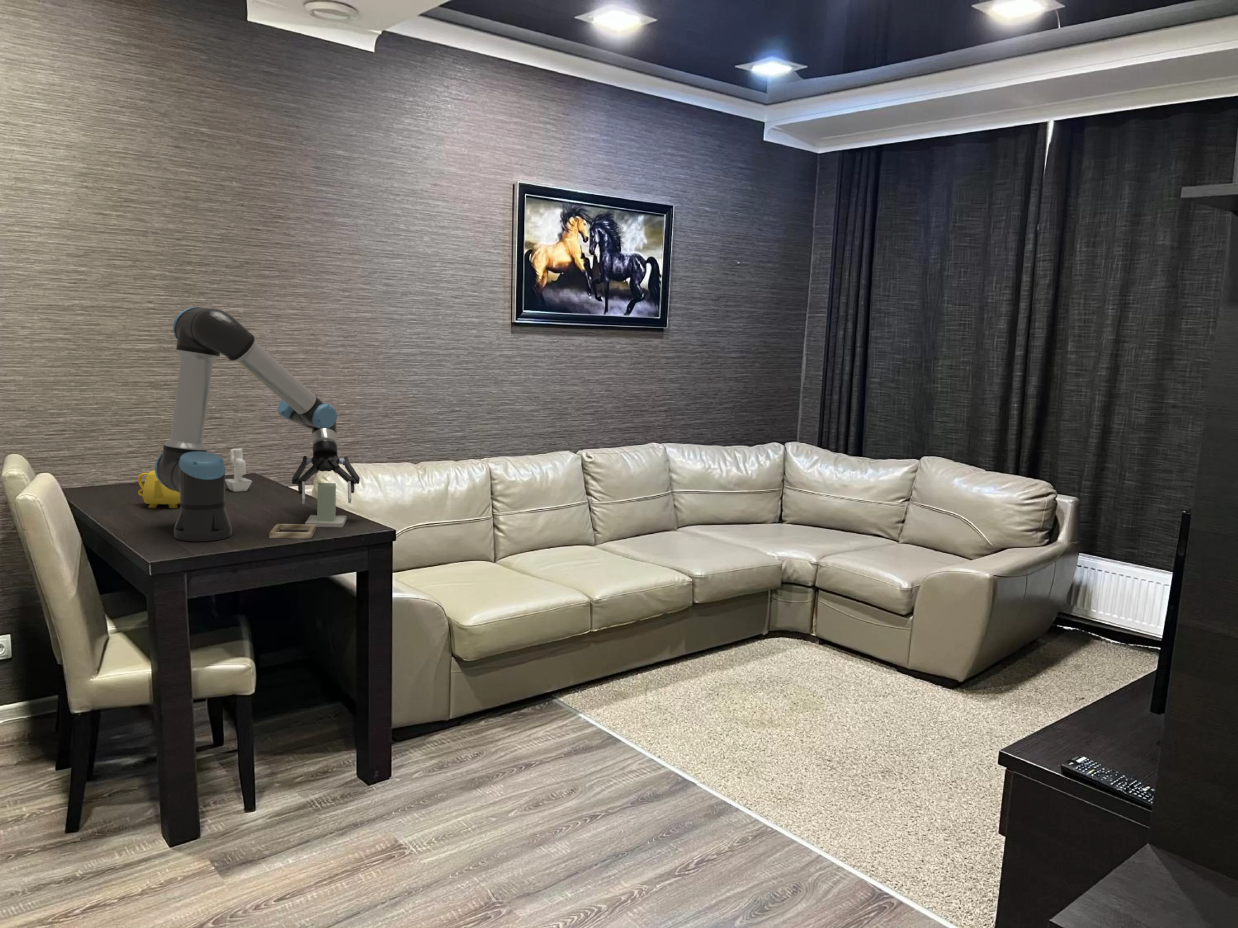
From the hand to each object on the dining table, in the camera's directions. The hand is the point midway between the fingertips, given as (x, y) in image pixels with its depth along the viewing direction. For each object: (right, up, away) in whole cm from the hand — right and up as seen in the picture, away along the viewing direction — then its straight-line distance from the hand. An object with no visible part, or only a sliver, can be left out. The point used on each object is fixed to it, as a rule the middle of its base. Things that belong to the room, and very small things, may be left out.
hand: (327, 501), depth 281 cm
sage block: (-1, -6, +3) cm, 7 cm away
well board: (-6, -9, -12) cm, 16 cm away
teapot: (-56, -2, +14) cm, 58 cm away
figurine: (-46, +2, +44) cm, 64 cm away
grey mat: (-1, -7, +3) cm, 8 cm away
